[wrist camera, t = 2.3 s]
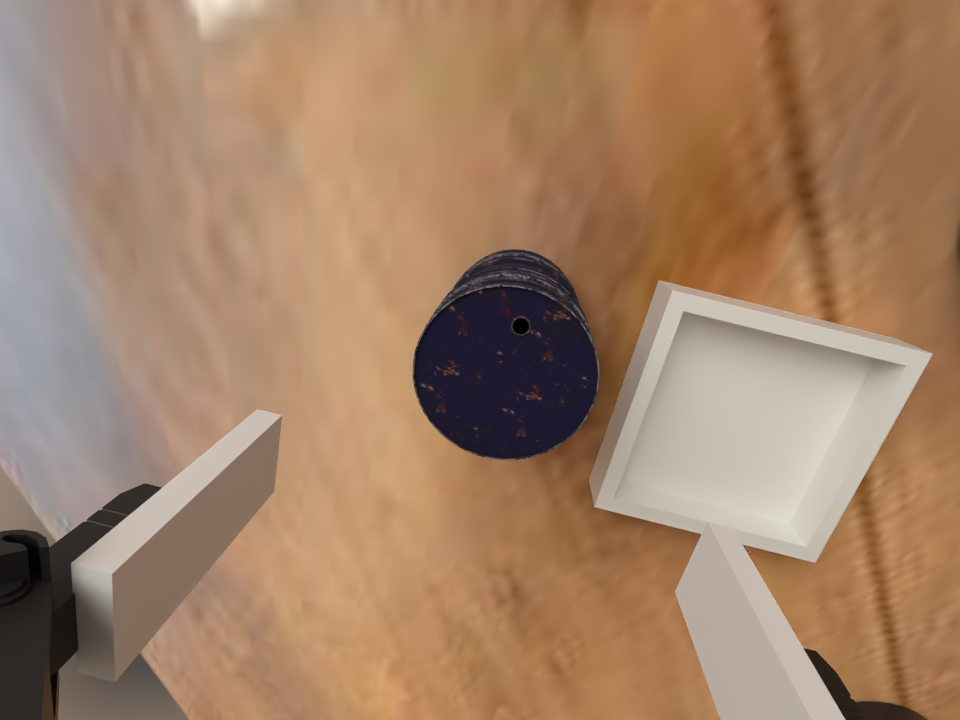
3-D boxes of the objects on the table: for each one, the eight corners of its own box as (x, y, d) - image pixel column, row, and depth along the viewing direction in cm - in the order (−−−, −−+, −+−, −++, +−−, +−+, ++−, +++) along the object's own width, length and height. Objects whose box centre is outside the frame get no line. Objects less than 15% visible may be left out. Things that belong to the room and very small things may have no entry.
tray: (791, 530, 44) (815, 562, 40) (588, 479, 45) (594, 507, 41) (893, 337, 38) (932, 353, 34) (658, 280, 39) (672, 290, 35)
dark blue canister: (553, 384, 42) (564, 484, 28) (438, 350, 42) (392, 433, 28) (595, 268, 39) (631, 315, 25) (471, 231, 39) (436, 256, 25)
